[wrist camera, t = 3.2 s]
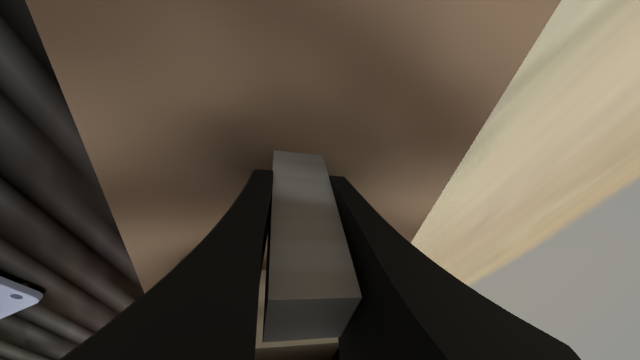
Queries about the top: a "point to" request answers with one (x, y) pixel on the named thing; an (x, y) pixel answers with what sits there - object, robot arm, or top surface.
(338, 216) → the grey handled cream block
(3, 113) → the top surface
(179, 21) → the walnut shelf
